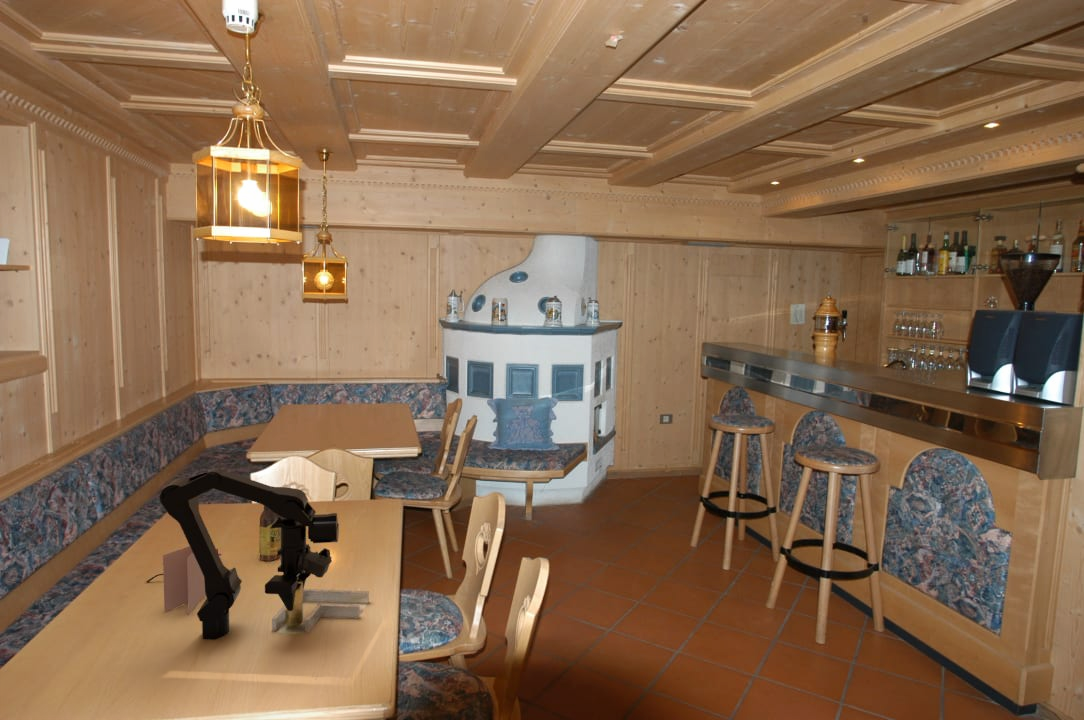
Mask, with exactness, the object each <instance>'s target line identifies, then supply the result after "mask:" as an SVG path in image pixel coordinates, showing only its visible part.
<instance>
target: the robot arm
mask: <svg viewBox="0 0 1084 720" xmlns="http://www.w3.org/2000/svg"><path fill="white" fill-rule="evenodd" d="M211 490H216V491H220V492H223V493H227V494H229V495H232V496H235V497H239V498H241V499H244V500H247V501H250V502H253V503H257V504H259V505H263V507H264V506H266V507H267V508H269V509H270V510H271V511H272V512H274V513H275V514H277V515H279V517H278V518H277V519H276V520H275V521H274V522H273V524H272V526H271V527H272V528H281V548H280V549H279V550H278V555H280V565H279V566H278V567H277V572H278V573H282V574H281V575H279V574H275V575H273V576H272V577H271V578H270V579H269V580H268V581H267V582H266V583H265V584H264V593H265V594H267V595H278V596H279V598H280V600H281V601H282V603H283V606H284V605H285V607H286V608H287V610H288V611H292V610H293V607H294V600H295V593H296V590H297V589H298V588H299V587H300V586H301V585H302V584H298V580H297V579H301V580H302V581H303V589H305V585H306V582H307V579H308V578H309V577H310V576H312V575H313V576H315V578H323V577H324V575H325V574H326V573H327V572H328V569H329V567H330V564H331V563H332V562H333V561H332V558H333V557H331V549H328V548H322V549H321V550H320V551H319V552H318V550H317V551H315V552H313V551H311V546H310V544H307V538H308V540H309V541H310V542H312V543H313V544H325V543H338V542H339V537H340V536H339V535H340V523H339V519H338V513H337V512H333V513H328V514H317V511H316V510H315V508H314V507H312V505H311V504H310V503H309V502H308V497H307V495H306V492H304V491H303V490H302V489H300V488H299V489H298V488H292V487H286V486H271V485H268V484H265V483H261V482H259V481H256V480H253V479H250V478H246V477H244V476H241V475H237V474H235V473H232V472H230V471H226V470H223V469H222V468H221V467H220V468H219V467H213V468H211V469H210V470H207V471H204V472H202V473H198V474H195V475H193V476H190V477H188V478H186V477H179V478H176V479H174V480H172V482H170V483H169V484H167V485H166V486H165V487H164V488H163V489H162V490H161V491H160V494H159V497H158V498H159V502H160V504H161V506H162V507H163V509H165V512H167V514H168V515H169V516H170V517H171V518H172V519H174V520H175V521H176V522H177V523H178V524H179V527H180V528H181V530H182V532H183V534H184V537H185V539H186V541H187V544H188V545H189V546H190V548H191V550H192V552H193V554H194V556H195V558H196V561H197V563H198V565H199V567H200V569H201V571H202V573H203V576H204V582H205V594H206V596H205V597H206V598H205V601H204V602H203V603H202V605H201V607H200V608H199V610H198V611H197V613H196V615H197V618H198V620H199V622H201V626H202V627H201V628H202V629H201V630H202V631H201V635H202V636H201V637H202V640H218V639H221V638H222V637H225V636H226V635H228V634H229V633H230V609H231V608H232V607H233V606H234V603H235V602H236V601H237V598H238V596H239V595H240V593H241V590H242V587H241V584H242V581H243V580H242V579H240V577H239V575H238V572H237V569H236V567H233V568H231V569H228V567H226V566H225V565H224V563H223V561H222V559H221V556H219V555H218V554H219V552H218V553H217V550H216V549H217V548H216V546H215V544H214V542H213V540H212V537H211V535H210V533H209V530H208V529H207V526H206V524H205V523H204V520H203V518H202V515H201V514H200V506H199V496H200V495H202V494H204V493H206V492H208V491H211Z"/></svg>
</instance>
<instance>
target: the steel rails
mask: <svg viewBox="0 0 1084 720" xmlns="http://www.w3.org/2000/svg"><path fill="white" fill-rule="evenodd" d="M369 600H370V591H367V590H350V589H345V590H343V589H318V588H304V589H303V602H310V603H311V602H313V603H317V605H316V606H315V607H314V609H313V610H312V611H311V612H310V613H309V615H307V616H306V618H305V619H304V621H305V630H304V632H305V633H310V632H311V631H312V630H313V628H314V627H315V625H316V624H317V623H318V622H319V620H320V619H321V618H335V619H359V618H360V617H361V615H360V605H344V604H365V605H367V604H369V603H370V601H369ZM336 603H337V604H336ZM339 603H340V604H339ZM284 623H285V605H284V604H283V606H281V608H280V609H279V610H278V611H277V613H276V614H274V616H273V617H272V618H271V631H273V632H274V631H275V632H276V631H277V632H278V630H279V629H280V628H281V627H282V626H283V624H284Z"/></svg>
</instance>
